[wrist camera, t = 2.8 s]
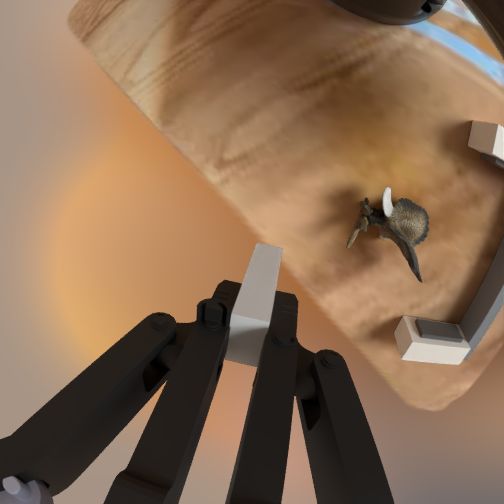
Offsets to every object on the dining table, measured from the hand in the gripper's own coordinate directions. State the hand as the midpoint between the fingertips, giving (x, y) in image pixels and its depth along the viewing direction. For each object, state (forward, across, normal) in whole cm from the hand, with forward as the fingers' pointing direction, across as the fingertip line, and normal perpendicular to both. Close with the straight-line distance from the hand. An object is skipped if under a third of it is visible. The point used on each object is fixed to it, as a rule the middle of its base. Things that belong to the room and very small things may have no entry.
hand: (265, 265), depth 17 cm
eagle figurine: (+14, +12, 0) cm, 18 cm away
